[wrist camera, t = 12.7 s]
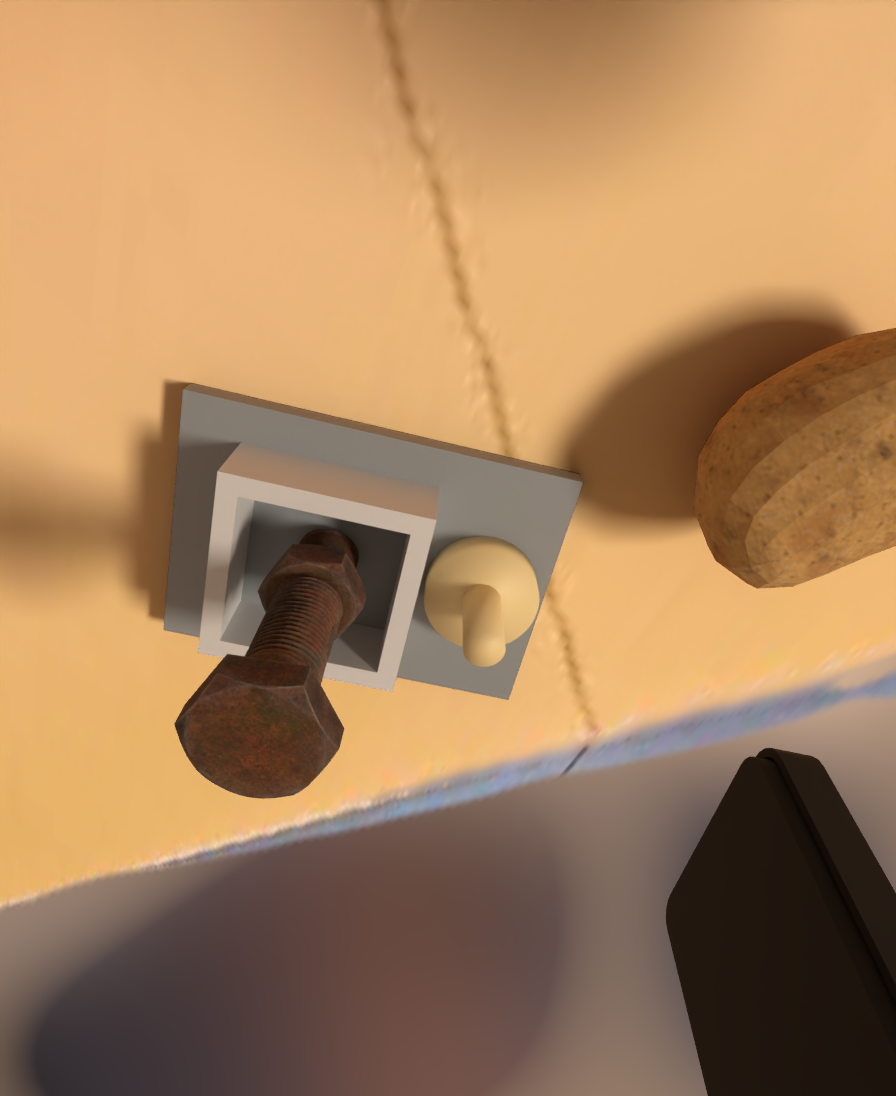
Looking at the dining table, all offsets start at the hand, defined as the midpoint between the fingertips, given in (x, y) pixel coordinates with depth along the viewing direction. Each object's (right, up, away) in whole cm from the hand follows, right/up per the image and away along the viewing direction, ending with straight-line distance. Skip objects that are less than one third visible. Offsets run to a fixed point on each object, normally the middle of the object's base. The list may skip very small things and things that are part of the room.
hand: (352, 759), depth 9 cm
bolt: (-5, +3, +30) cm, 31 cm away
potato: (+19, +9, +28) cm, 35 cm away
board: (-3, +2, +31) cm, 32 cm away
